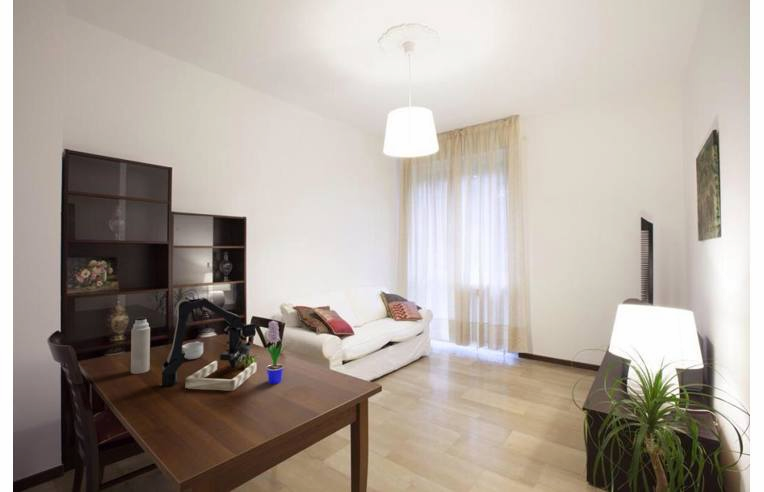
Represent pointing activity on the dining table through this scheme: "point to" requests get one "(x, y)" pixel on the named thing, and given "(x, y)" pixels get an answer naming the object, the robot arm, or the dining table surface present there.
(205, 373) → the pale wooden open frame
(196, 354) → the teacup
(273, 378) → the hyacinth
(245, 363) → the passion flower
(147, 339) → the thermos bottle
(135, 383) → the dining table surface
